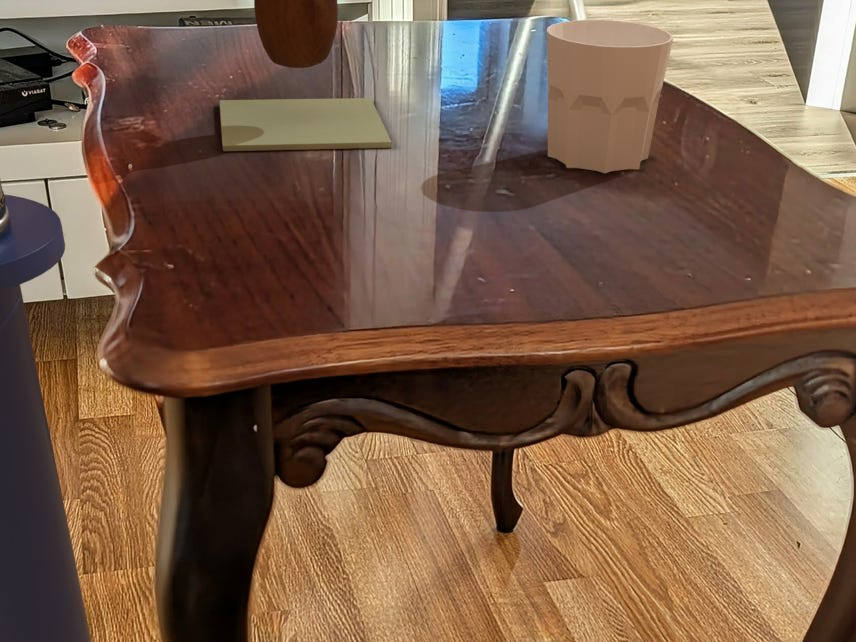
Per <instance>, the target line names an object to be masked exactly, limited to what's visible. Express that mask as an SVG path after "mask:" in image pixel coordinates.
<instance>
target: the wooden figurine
mask: <svg viewBox="0 0 856 642" xmlns="http://www.w3.org/2000/svg"><path fill="white" fill-rule="evenodd" d="M253 8H254V15H255V23H256V27H257V33H258V37H259V39H260V42H261V45H262V47H263V49H264V51H265V52H266V54H267V56H268V58H269V59H270V61H271V62H272V63H273V64H275V65H278V66H280V67H285V68H291V69H305V68H307V69H308V68H311V67H314V66H317V65H319V64H322V63H323V62H324V61H325V60H326V59H328V56H329V55H330V53H331V50H332V48H333V44H334V42H335V39H336V35H337V29H338V23H339V3H338V0H253Z"/></svg>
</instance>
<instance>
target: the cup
mask: <svg viewBox="0 0 856 642" xmlns="http://www.w3.org/2000/svg"><path fill="white" fill-rule="evenodd" d="M673 41H674V36H673V34H672V33H670V32H669V31H667V30H665V29H662V28H660V27H657V26H654V25H653V26H652V25H648V24H644V23H640V22H639V23H638V22H632V21H622V20H612V19H576V20H575V19H574V20H567V21H560V22H557V23H553V24H551V25H549V26H548V27H547V28H546V50H547V52H546V58H547V59H546V61H547V63H546V65H547V157H548V158H552V159H555V160H557V161H558V162H561V163H563V164H564V165H565V168H566V169H582V170H587V171H588V170H589V171H596V172H599V173H602V174H608V173H610V172H615V171H623V170H625V171H626V170H640V167H641V162H642V161H644V160H648V159H649V154H650V149H651V144H652V139H653V135H654V134H653V133H654V129H655V123H656V118H657V111H658V106H659V102H660V97H661V93H662V89H663V85H664V81H665V78H666V77H665V76H666V72H667V67H668V64H669V59H670V55H671V50H672V45H673Z"/></svg>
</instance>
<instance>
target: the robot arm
mask: <svg viewBox="0 0 856 642" xmlns="http://www.w3.org/2000/svg"><path fill="white" fill-rule="evenodd" d="M4 194H5V192H4V190H3V186H2V181H1V179H0V238H2V237H3V236H4V235H6V234H7V233H8V231H9V230H10V228H11V222H10V217H9V212H8V208H7V206H6V205H5V204H6V202H5V196H4Z"/></svg>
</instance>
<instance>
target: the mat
mask: <svg viewBox="0 0 856 642" xmlns="http://www.w3.org/2000/svg"><path fill="white" fill-rule="evenodd" d="M218 101H219V102H218V104H219V117H220V131H221V144H222V152H251V151H252V152H253V151H254V152H255V151H257V152H259V151H261V152H262V151H293V150H294V151H300V150H301V151H303V150H306V151H309V150H347V149H349V150H350V149H351V150H352V149H391V148H393V143H392V140H391V138H390V136H389V134H388V131H387V130H386V129H387V128H386V127H385V126H384V123H383V121H382V119H381V116H380V114H379V113H378V110H377V108H376V106H375V104H374V101H373V99H372V98H371V97H354V98H353V97H351V98H342V97H341V98H282V99H280V98H279V99H269V98H268V99H220V100H218Z"/></svg>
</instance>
